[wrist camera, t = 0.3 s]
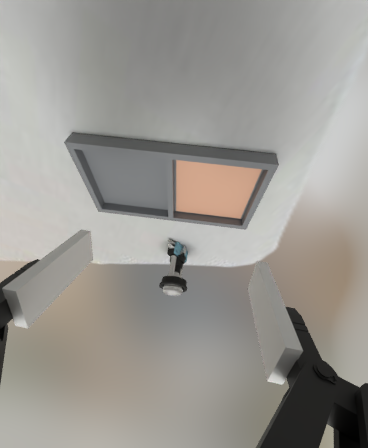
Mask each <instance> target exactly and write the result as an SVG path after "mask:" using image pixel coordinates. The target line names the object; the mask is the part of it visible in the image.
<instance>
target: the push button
mask: <svg viewBox="0 0 368 448" xmlns="http://www.w3.org/2000/svg"><path fill="white" fill-rule="evenodd" d="M168 241H169V242H170V241H171V242H170V244H167V245H168V246H169V245H170V246H169V248H168V255H169V256H170V268H169V273H168V275H167V276H165V277H163V279H162V282H161V283H160V285H159V286H160V288H162V289H163V292H164V293H165V294H167V295H170V296H180V295H181V294H182V292H185V291H186V290H187V287H186V280H184V279H183V278H182V277H181V275H182V268H183V264H184V263H185V262H186V261H187V254H188V252H187V250H186V247H185V246H184V247H183V246H182V245H181V244H180V243H179V242H173V241H172V240H168Z"/></svg>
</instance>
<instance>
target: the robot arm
mask: <svg viewBox="0 0 368 448" xmlns="http://www.w3.org/2000/svg"><path fill="white" fill-rule="evenodd" d="M92 260H93V253H92V242H91V232H90V231H86V230H80V231H79V232H78V233H76V234H75V235H73V236H72V237H71V238H69V239H68V240H67V241H65V242H64V243H63V244H61V245H60V246H59V247H57V248H56V249H55V250H53V251H52V252H50V253H49V254H48V255H46V256H45V257H44V258H42V259H41V260H38V259H37V260H35V261H32V262H30V263H28V264H27V265H25V266H24V267H22V268H21V269H20V270H18V271H16V272H15V273H14V274H12V275H11V276H9V277H8V278H7V279H5V280H4V281H2V282H1V283H0V382H1V375H2V368H3V361H4V354H5V346H6V340H7V333H8V325H7V323H8V322H9V321H10V320H11V319H13V320H14V323H15V326H20V327H24V328H29V327H30V326H31V325H32V324H33V323H34V322H35V320H36V319H37V318H38V317H39V316H40V315H41V314H42V313H43V312H44V311H45V310H46V309H47V308H48V307H49V306H50V305H51V304H52V302H53V301H54V300H55V299H56V298H57V297H58V296H59V295H60V294H61V293H62V292H63V291H64V290H65V289H66V288H67V287H68V286H69V285H70V284H71V282H72V281H73V280H74V279H75V278H76V277H77V276H78V275H79V274H80V273H81V272H82V271H83V270H84V269H85V268H86V267H87V265H88V264H89V263H90V262H91V261H92ZM248 292H249V297H250V302H251V306H252V311H253V316H254V321H255V325H256V330H257V335H258V340H259V345H260V349H261V354H262V359H263V364H264V368H265V372H266V378H267V381H268V382H273V383H277V384H283V383H284V382H285V380H286V378H287V381H288V384H289V389H288V390H287V392H286V393H285V395H284V397H283V399H282V401H281V403H280V405H279V407H278V409H277V410H276V412H275V414H274V416H273V418H272V419H271V421H270V423H269V425H268V427H267V429H266V430H265V432H264V434H263V436H262V438H261V439H260V441H259V443H258V445H257V447H256V448H319V445H320V443H321V439H322V436H323V434H324V430H325V428H326V424H328V425H330V426H331V427H333V428H334V448H368V383H365V384H363V385H362V386H361V387H360V388H359V387H358V386H355V385H354V384H352V383H350V382H348V381H346V380H344V379H342V378H340V377H338V376H337V374H336V372H335V371H334V370H333V368H332V367H331V366H329V364H327V363H326V362H325V361H323V360H322V359H321V357H320V355H319V352H318V350H317V349H316V346H315V344H314V342H313V340H312V338H311V336H310V333H308V329H307V327H306V326H305V323H304V321H303V319H302V316H301V315H300V314H299V313H298V312H297V311H296V310H295V308H289V307H285V305H284V302H283V300H282V298H281V295H280V293H279V290H278V287H277V285H276V282H275V280H274V278H273V275H272V272H271V270H270V267H269V265H268V263H266V262H260V261H257V263H256V266H255V269H254V272H253V275H252V278H251V281H250V284H249V287H248Z"/></svg>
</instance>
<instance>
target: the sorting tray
mask: <svg viewBox="0 0 368 448" xmlns="http://www.w3.org/2000/svg"><path fill="white" fill-rule="evenodd" d="M64 143H65V145H66V147H67V149H68V151H69V153H70V155H71V157H72V159H73V161H74V163H75V165H76V167H77V169H78V171H79V173H80V175H81V177H82V179H83V181H84V183H85V185H86V187H87V189H88V191H89V193H90V195H91V197H92V199H93V201H94V203H95V205H96V208H97V210H98V211H99V212H107V213H115V214H123V215H131V216H140V217H148V218H156V219H164V220H172V221H181V222H189V223H197V224H205V225H213V226H222V227H230V228H238V229H246V228H247V226H248V224H249V222H250V220H251V218H252V216H253V214H254V213H255V211H256V209H257V207H258V205H259V203H260V201H261V199H262V197H263V195H264V193H265V191H266V189H267V187H268V185H269V183H270V181H271V179H272V177H273V175H274V173H275V171H276V169H277V167H278V165H279V164H278V160H277V156H276V154H271V153H261V152H252V151H242V150H232V149H223V148H213V147H203V146H194V145H184V144H175V143H165V142H155V141H146V140H136V139H126V138H117V137H107V136H97V135H88V134H78V133H72V134H71V135H70V136H69V137H68V138H67V139H66V141H65V142H64Z"/></svg>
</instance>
